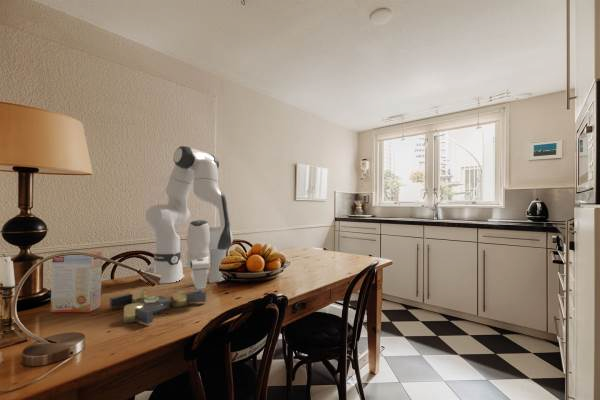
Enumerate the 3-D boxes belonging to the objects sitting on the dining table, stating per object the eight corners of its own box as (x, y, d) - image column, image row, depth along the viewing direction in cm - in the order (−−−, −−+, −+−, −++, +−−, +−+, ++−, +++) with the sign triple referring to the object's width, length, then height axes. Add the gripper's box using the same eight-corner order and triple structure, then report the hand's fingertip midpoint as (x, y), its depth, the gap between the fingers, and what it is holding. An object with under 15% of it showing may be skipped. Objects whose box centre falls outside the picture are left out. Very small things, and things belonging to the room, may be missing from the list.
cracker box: (101, 307, 103) (103, 251, 104) (89, 313, 97) (91, 253, 98) (64, 306, 103) (66, 250, 104) (49, 312, 97) (51, 253, 98)
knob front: (120, 320, 91) (120, 306, 91) (137, 314, 96) (137, 301, 96) (140, 328, 85) (141, 314, 85) (158, 322, 89) (158, 308, 90)
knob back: (141, 299, 111) (141, 288, 111) (148, 302, 108) (148, 291, 108) (107, 308, 101) (107, 296, 101) (114, 311, 98) (114, 299, 98)
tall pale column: (224, 278, 147) (225, 236, 147) (228, 279, 144) (229, 237, 145) (206, 282, 138) (207, 238, 139) (210, 283, 136) (211, 239, 136)
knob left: (170, 307, 103) (171, 295, 103) (174, 302, 108) (175, 291, 109) (204, 305, 105) (205, 293, 105) (206, 300, 111) (207, 289, 111)
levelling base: (123, 310, 100) (124, 297, 100) (158, 300, 111) (159, 288, 111) (142, 318, 93) (142, 304, 93) (177, 307, 104) (178, 294, 104)
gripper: (188, 256, 121) (187, 288, 121) (192, 265, 103) (191, 302, 102) (203, 255, 124) (202, 286, 124) (210, 264, 106) (209, 300, 105)
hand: (197, 294), depth 113 cm, fingers open, 6 cm apart
